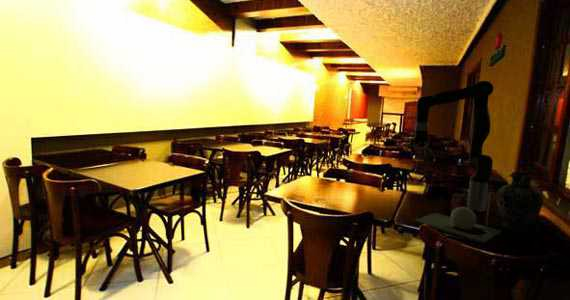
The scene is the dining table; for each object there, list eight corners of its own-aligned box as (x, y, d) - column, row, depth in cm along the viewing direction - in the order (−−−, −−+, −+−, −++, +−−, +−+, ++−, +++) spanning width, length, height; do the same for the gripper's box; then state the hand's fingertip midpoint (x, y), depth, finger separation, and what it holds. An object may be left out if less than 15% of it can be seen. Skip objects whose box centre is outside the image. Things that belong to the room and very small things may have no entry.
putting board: (414, 222, 163) (418, 186, 160) (434, 214, 177) (438, 181, 174) (483, 243, 138) (489, 201, 136) (501, 232, 152) (506, 194, 150)
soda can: (466, 218, 172) (468, 196, 171) (452, 216, 174) (454, 195, 172) (461, 214, 179) (464, 193, 178) (448, 212, 180) (450, 192, 179)
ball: (464, 203, 161) (480, 222, 156) (445, 215, 163) (460, 234, 158) (466, 201, 151) (483, 221, 146) (445, 213, 153) (461, 233, 149)
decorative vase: (542, 238, 147) (549, 179, 143) (494, 230, 156) (500, 174, 153) (535, 225, 165) (542, 172, 161) (493, 218, 174) (498, 168, 171)
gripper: (414, 130, 189) (412, 157, 191) (435, 130, 191) (433, 156, 193) (407, 129, 196) (405, 155, 198) (428, 129, 198) (426, 155, 200)
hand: (419, 156), depth 196 cm, fingers open, 8 cm apart
